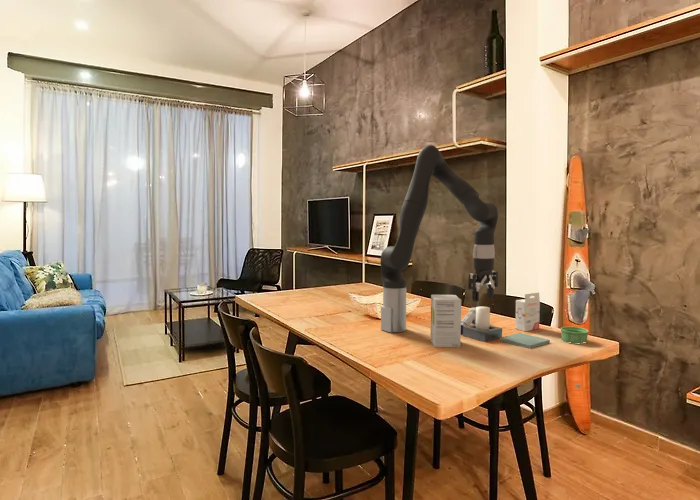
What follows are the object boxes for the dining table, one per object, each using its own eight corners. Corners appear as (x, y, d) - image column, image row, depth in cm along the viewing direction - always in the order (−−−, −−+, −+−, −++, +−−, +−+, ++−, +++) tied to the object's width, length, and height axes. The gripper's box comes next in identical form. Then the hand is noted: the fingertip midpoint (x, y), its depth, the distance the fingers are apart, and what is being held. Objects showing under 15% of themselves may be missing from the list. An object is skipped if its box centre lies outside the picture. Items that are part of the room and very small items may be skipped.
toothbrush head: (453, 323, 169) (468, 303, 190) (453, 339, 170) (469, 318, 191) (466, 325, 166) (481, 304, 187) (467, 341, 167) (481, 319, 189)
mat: (530, 348, 149) (530, 345, 149) (499, 340, 158) (500, 337, 158) (549, 342, 156) (549, 339, 155) (519, 335, 165) (519, 332, 165)
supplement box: (429, 339, 160) (430, 294, 159) (455, 339, 160) (455, 294, 158) (434, 347, 150) (434, 299, 149) (461, 347, 150) (461, 299, 149)
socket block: (484, 341, 157) (485, 332, 156) (462, 335, 165) (463, 326, 165) (502, 337, 162) (502, 328, 162) (480, 331, 170) (480, 322, 170)
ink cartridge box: (529, 326, 179) (530, 290, 178) (539, 328, 175) (540, 292, 174) (514, 328, 175) (515, 292, 174) (524, 331, 171) (525, 294, 170)
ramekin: (576, 346, 152) (576, 333, 151) (554, 339, 160) (555, 327, 159) (594, 343, 155) (594, 331, 155) (572, 336, 163) (572, 325, 163)
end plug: (483, 339, 160) (484, 309, 159) (472, 336, 164) (473, 307, 163) (492, 337, 163) (492, 308, 162) (481, 334, 167) (481, 305, 166)
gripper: (479, 258, 154) (479, 303, 156) (504, 256, 163) (503, 299, 164) (463, 257, 160) (462, 300, 162) (487, 254, 169) (486, 296, 170)
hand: (483, 299), depth 163 cm, fingers open, 8 cm apart
